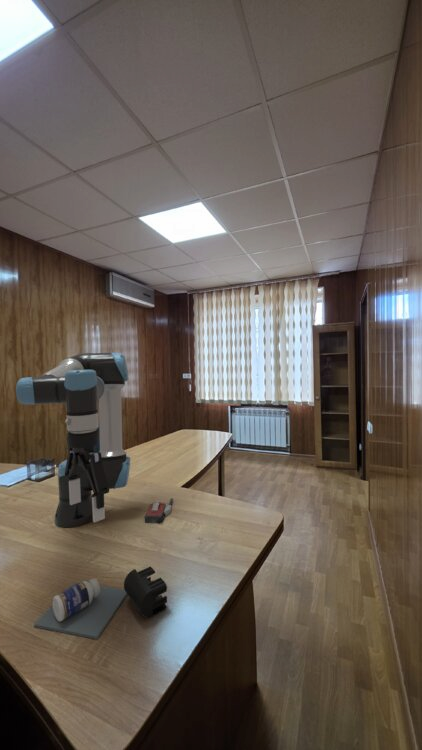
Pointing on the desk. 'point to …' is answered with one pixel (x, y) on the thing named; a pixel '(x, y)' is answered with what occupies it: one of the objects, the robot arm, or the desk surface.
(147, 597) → the end cap
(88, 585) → the pill bottle
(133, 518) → the desk surface
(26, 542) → the desk surface
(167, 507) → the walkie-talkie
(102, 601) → the mat
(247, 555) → the desk surface
